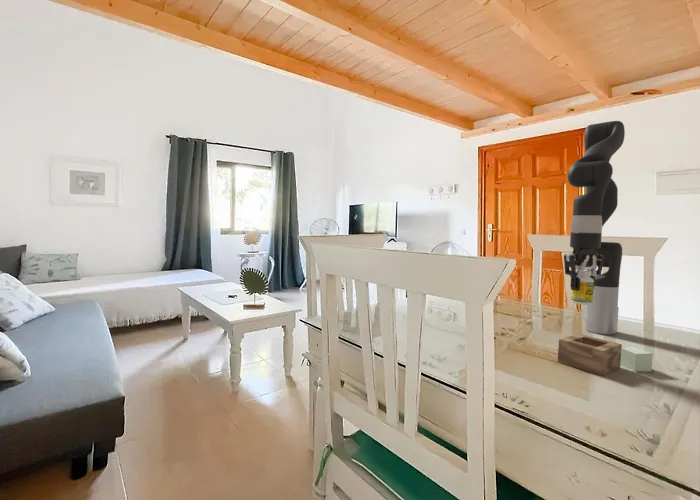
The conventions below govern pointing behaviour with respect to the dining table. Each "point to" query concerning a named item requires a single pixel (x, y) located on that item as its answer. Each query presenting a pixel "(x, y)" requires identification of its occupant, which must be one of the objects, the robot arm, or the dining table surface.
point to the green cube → (636, 359)
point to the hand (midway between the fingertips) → (582, 289)
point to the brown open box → (589, 354)
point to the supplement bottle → (584, 289)
